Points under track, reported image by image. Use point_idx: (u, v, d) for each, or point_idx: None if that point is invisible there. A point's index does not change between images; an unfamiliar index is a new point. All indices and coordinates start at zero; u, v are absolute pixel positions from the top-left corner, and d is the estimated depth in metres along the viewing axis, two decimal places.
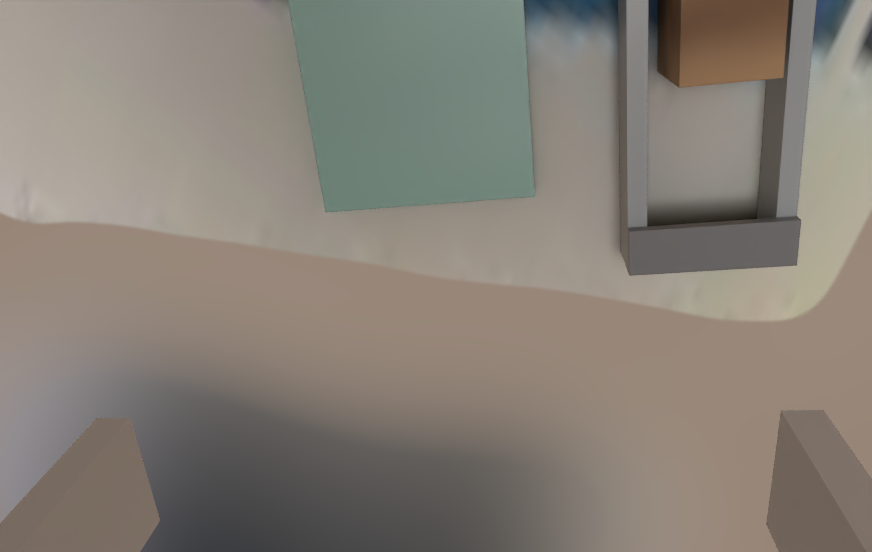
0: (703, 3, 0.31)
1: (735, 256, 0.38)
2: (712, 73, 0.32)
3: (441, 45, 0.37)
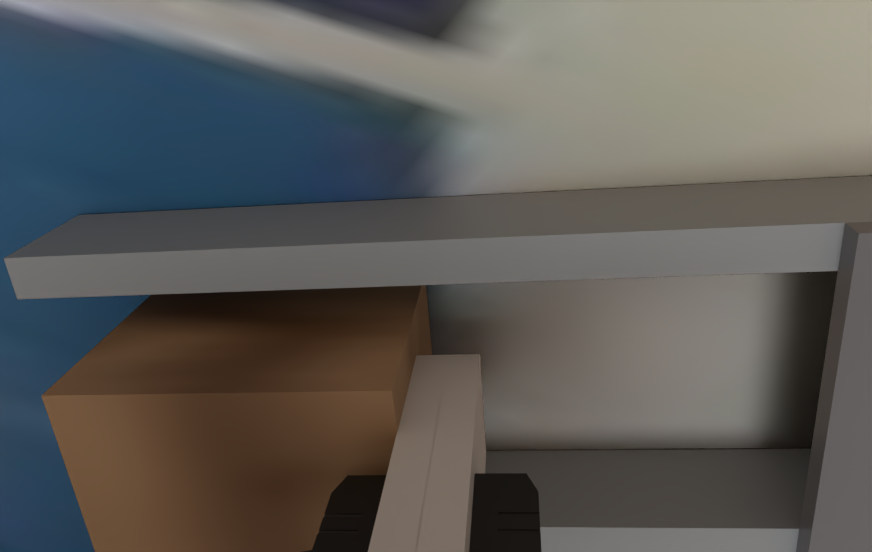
0: (245, 537, 0.15)
1: None
2: None
3: None
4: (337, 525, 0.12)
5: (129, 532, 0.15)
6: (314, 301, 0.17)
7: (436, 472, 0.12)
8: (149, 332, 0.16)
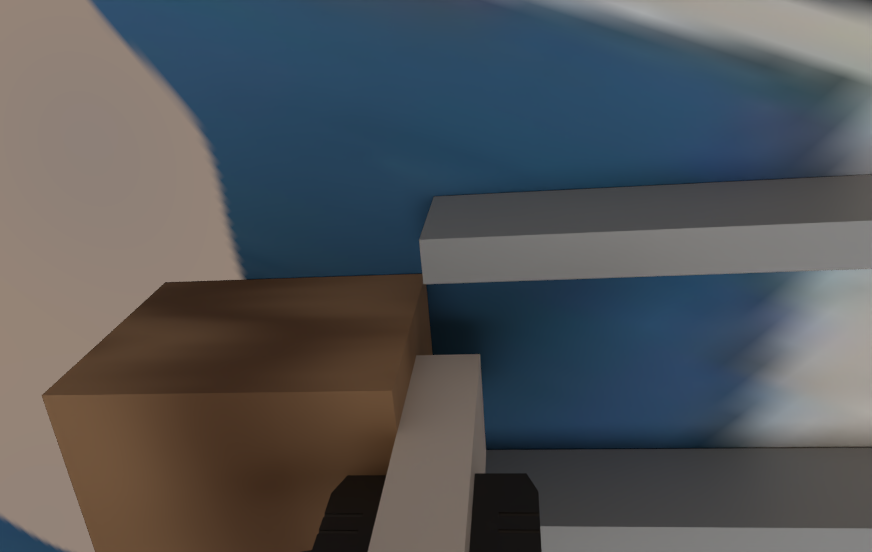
0: (245, 537, 0.15)
1: None
2: None
3: None
4: (337, 525, 0.12)
5: (129, 532, 0.15)
6: (315, 301, 0.17)
7: (436, 472, 0.12)
8: (149, 332, 0.16)
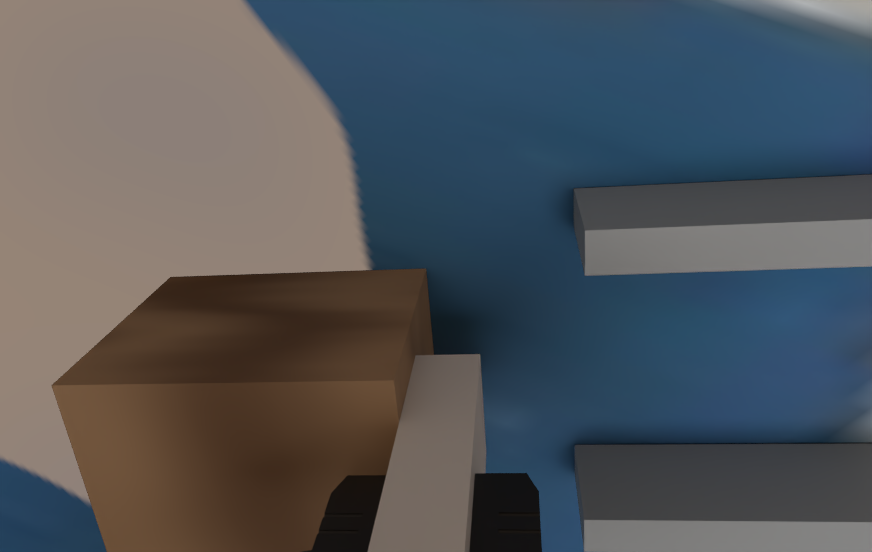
0: (250, 525, 0.15)
1: None
2: None
3: None
4: (337, 525, 0.12)
5: (136, 520, 0.16)
6: (318, 295, 0.18)
7: (436, 472, 0.12)
8: (156, 325, 0.17)
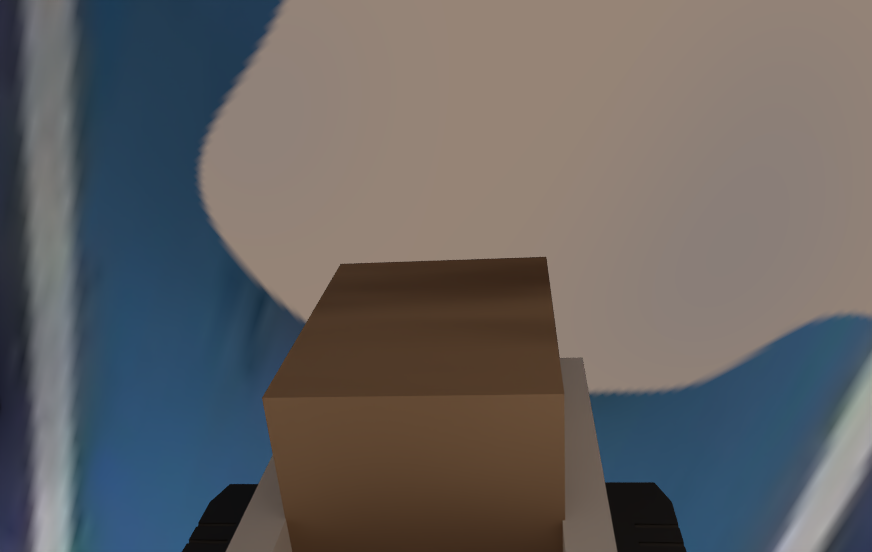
0: None
1: None
2: None
3: None
4: (208, 535, 0.12)
5: (337, 449, 0.11)
6: None
7: None
8: None
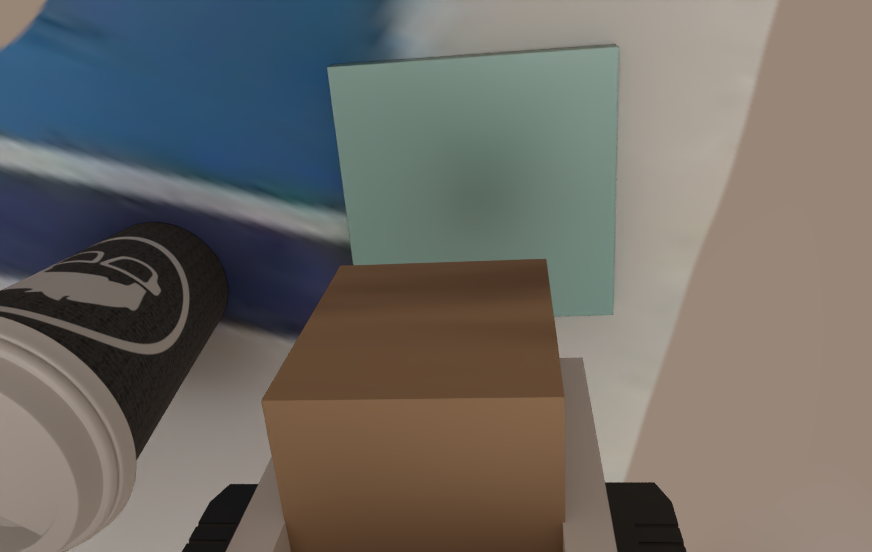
0: None
1: None
2: None
3: (418, 163, 0.31)
4: (208, 535, 0.12)
5: (337, 452, 0.11)
6: None
7: None
8: None
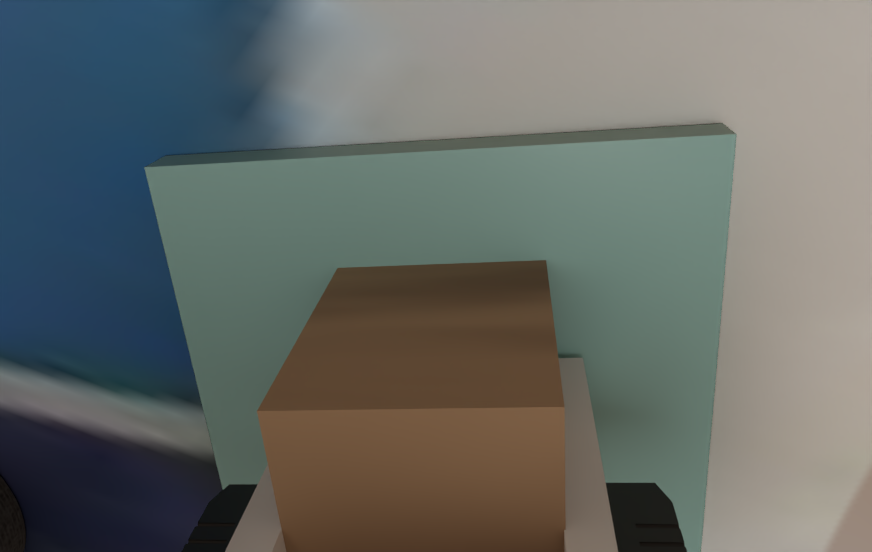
0: None
1: None
2: None
3: None
4: (207, 535, 0.12)
5: (334, 461, 0.11)
6: None
7: None
8: None
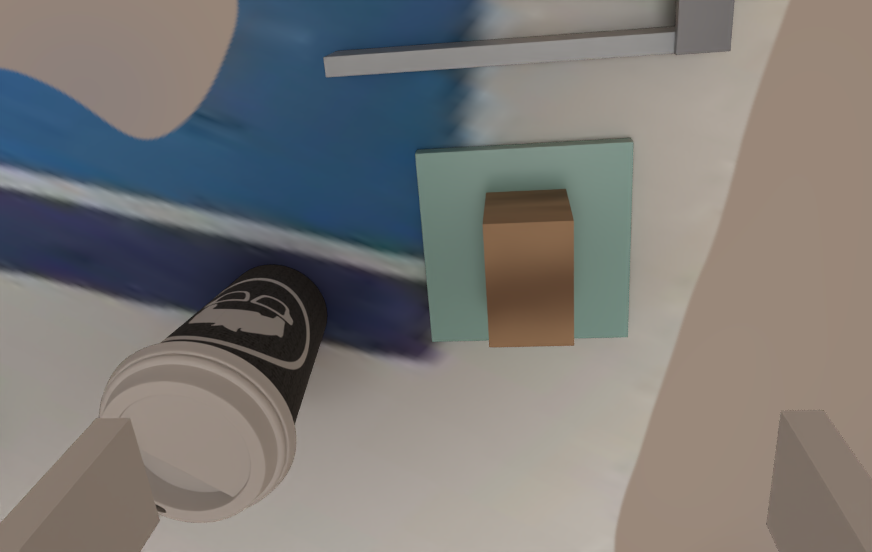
0: (504, 287, 0.37)
1: None
2: (515, 338, 0.38)
3: (481, 223, 0.42)
4: None
5: (504, 241, 0.36)
6: None
7: None
8: None
